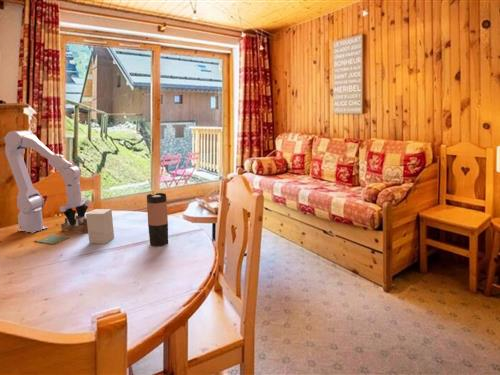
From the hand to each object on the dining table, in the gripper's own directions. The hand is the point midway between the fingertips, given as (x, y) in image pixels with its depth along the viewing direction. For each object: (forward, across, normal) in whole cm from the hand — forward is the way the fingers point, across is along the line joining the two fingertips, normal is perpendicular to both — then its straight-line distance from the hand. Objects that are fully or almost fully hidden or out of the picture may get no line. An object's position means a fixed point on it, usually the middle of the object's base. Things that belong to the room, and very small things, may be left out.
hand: (76, 223), depth 154 cm
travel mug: (+3, -2, -44) cm, 44 cm away
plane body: (+3, 0, 0) cm, 3 cm away
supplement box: (+3, -7, -20) cm, 21 cm away
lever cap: (0, 0, 0) cm, 0 cm away
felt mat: (+3, -13, 0) cm, 13 cm away
